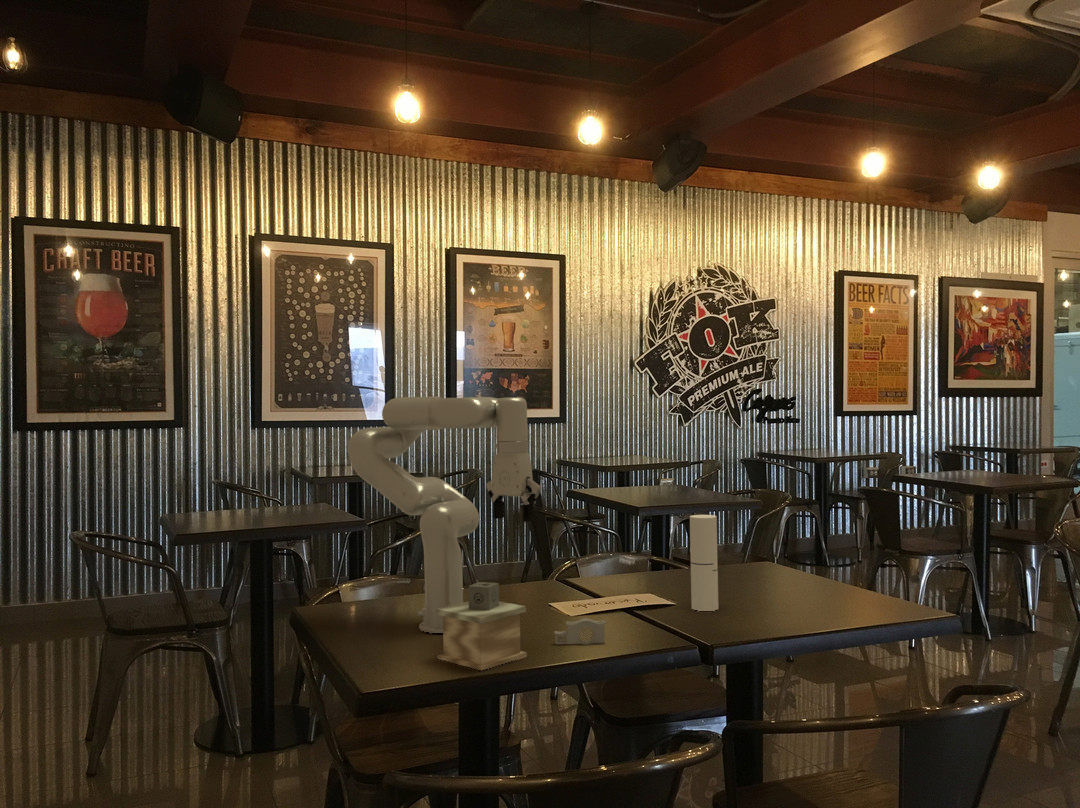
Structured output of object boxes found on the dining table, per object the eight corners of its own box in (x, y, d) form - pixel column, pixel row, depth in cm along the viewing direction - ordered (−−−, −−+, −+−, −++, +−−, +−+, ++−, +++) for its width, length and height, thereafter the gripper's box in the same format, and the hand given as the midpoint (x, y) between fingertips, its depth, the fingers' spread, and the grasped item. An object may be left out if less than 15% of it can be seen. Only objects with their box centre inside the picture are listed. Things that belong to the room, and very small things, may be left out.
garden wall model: (554, 645, 208) (554, 619, 208) (554, 643, 210) (553, 618, 210) (606, 644, 208) (605, 618, 208) (605, 642, 210) (604, 616, 210)
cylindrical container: (686, 607, 244) (685, 515, 244) (710, 605, 246) (708, 514, 246) (699, 612, 237) (697, 518, 237) (723, 610, 240) (721, 517, 240)
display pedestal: (437, 659, 197) (436, 609, 198) (482, 646, 208) (482, 598, 208) (481, 671, 188) (480, 618, 188) (527, 656, 198) (526, 606, 198)
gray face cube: (489, 610, 195) (488, 587, 195) (468, 608, 197) (468, 586, 197) (499, 605, 200) (498, 583, 200) (479, 604, 202) (478, 581, 202)
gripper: (476, 448, 219) (477, 518, 219) (527, 450, 208) (529, 523, 208) (497, 447, 225) (499, 515, 225) (549, 448, 213) (550, 520, 213)
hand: (513, 519), depth 216 cm, fingers open, 9 cm apart
